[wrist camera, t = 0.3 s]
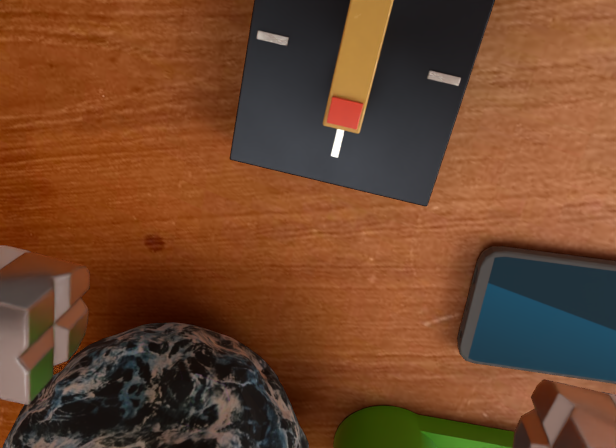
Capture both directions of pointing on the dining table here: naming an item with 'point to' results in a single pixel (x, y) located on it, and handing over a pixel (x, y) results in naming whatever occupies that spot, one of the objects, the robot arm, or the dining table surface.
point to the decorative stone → (161, 396)
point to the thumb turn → (356, 63)
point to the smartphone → (542, 314)
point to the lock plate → (382, 100)
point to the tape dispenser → (414, 431)
